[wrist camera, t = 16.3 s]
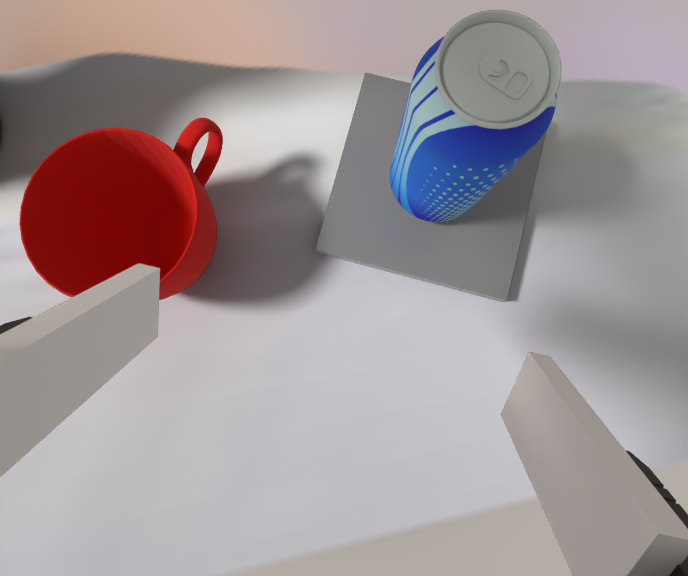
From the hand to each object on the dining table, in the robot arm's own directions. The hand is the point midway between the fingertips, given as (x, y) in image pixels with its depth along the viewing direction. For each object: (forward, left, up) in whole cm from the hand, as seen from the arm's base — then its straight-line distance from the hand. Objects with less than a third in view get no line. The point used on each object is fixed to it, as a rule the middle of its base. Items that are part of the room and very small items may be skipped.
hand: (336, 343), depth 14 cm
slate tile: (+4, +16, -23) cm, 28 cm away
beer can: (+4, +16, -21) cm, 27 cm away
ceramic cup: (-18, +6, -23) cm, 29 cm away
